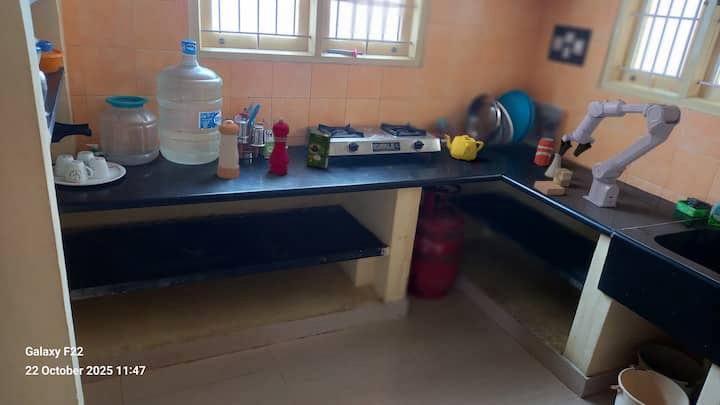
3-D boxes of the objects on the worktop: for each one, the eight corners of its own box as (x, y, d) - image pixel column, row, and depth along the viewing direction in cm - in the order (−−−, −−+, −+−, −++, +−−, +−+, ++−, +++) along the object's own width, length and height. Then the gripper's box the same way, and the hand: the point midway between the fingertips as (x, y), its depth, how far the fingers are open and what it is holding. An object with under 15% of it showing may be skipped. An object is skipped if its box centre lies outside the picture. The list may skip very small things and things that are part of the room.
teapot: (462, 164, 222) (466, 141, 218) (440, 155, 231) (444, 132, 227) (481, 160, 231) (486, 138, 227) (459, 151, 239) (464, 130, 235)
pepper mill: (264, 171, 186) (266, 117, 178) (276, 167, 192) (279, 114, 184) (280, 176, 183) (283, 121, 175) (292, 172, 189) (296, 118, 181)
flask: (562, 180, 217) (569, 157, 213) (545, 177, 218) (551, 155, 214) (560, 175, 224) (566, 153, 220) (543, 172, 225) (549, 150, 221)
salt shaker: (238, 171, 183) (239, 118, 176) (240, 178, 177) (241, 124, 170) (216, 171, 181) (217, 117, 173) (218, 178, 175) (218, 123, 167)
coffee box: (328, 167, 198) (331, 134, 193) (325, 169, 196) (328, 136, 190) (309, 163, 200) (312, 130, 195) (306, 165, 198) (308, 132, 193)
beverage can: (546, 163, 238) (552, 138, 234) (549, 167, 232) (556, 141, 228) (532, 161, 239) (539, 136, 234) (535, 165, 233) (542, 140, 228)
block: (568, 186, 211) (572, 172, 209) (559, 186, 209) (563, 172, 207) (561, 182, 215) (565, 168, 213) (552, 182, 213) (556, 168, 211)
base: (563, 194, 200) (565, 188, 199) (546, 195, 198) (548, 188, 197) (550, 186, 207) (552, 181, 206) (533, 187, 204) (535, 181, 203)
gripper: (595, 123, 205) (576, 149, 214) (566, 120, 200) (548, 147, 209) (604, 134, 200) (585, 161, 209) (575, 132, 195) (556, 159, 204)
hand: (567, 155), depth 209 cm, fingers open, 7 cm apart
